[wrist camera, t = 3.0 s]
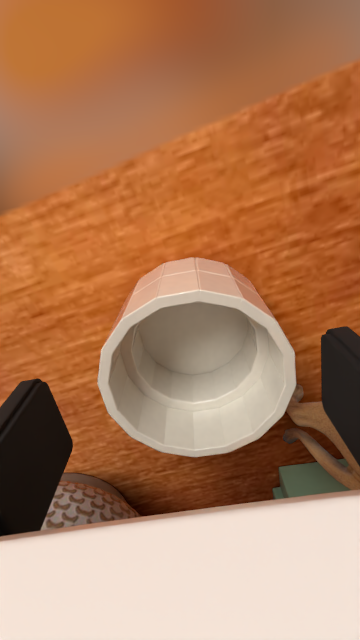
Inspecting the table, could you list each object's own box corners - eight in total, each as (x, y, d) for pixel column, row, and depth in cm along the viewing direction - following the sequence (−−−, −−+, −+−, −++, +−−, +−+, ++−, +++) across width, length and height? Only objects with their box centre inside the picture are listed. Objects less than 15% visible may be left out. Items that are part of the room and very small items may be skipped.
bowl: (255, 242, 14) (291, 273, 9) (267, 371, 16) (299, 443, 12) (106, 270, 14) (71, 312, 10) (142, 390, 17) (126, 467, 12)
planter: (-71, 501, 21) (-404, 921, 9) (63, 388, 17) (-209, 860, 5) (86, 590, 25) (-1, 958, 13) (222, 515, 21) (272, 940, 9)
